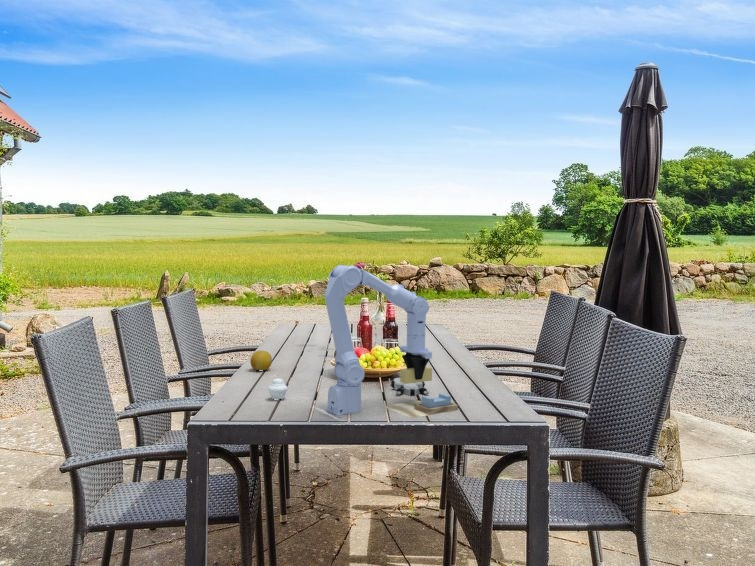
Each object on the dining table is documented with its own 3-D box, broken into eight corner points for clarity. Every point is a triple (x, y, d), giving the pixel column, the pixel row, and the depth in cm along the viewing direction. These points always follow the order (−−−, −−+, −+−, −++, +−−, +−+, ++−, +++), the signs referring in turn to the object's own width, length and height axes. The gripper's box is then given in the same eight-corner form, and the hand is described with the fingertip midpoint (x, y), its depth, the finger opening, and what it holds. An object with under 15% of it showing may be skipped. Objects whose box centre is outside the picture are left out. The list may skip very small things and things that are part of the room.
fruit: (269, 373, 247) (269, 352, 246) (248, 372, 247) (248, 352, 246) (273, 368, 255) (273, 349, 255) (253, 368, 256) (253, 349, 255)
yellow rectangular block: (405, 383, 192) (405, 370, 192) (400, 382, 195) (400, 369, 194) (431, 380, 197) (432, 367, 197) (426, 378, 200) (426, 366, 200)
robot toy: (430, 401, 207) (422, 388, 222) (431, 388, 206) (423, 375, 221) (394, 402, 206) (388, 388, 220) (394, 388, 205) (388, 376, 220)
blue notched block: (442, 406, 193) (442, 393, 193) (450, 409, 189) (450, 396, 189) (421, 409, 188) (421, 396, 188) (429, 412, 185) (429, 399, 185)
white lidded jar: (266, 398, 206) (266, 376, 205) (284, 396, 208) (284, 375, 208) (270, 402, 200) (270, 380, 199) (289, 400, 202) (289, 379, 202)
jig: (411, 421, 179) (411, 412, 179) (381, 409, 192) (381, 401, 192) (459, 413, 189) (460, 404, 189) (428, 402, 202) (428, 394, 202)
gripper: (440, 336, 191) (439, 381, 192) (413, 331, 203) (412, 372, 204) (421, 338, 187) (420, 383, 188) (395, 332, 200) (394, 375, 200)
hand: (415, 378), depth 196 cm, fingers closed on yellow rectangular block, 3 cm apart
